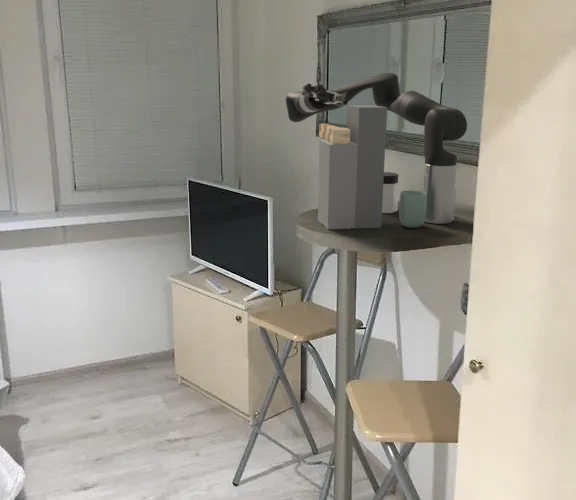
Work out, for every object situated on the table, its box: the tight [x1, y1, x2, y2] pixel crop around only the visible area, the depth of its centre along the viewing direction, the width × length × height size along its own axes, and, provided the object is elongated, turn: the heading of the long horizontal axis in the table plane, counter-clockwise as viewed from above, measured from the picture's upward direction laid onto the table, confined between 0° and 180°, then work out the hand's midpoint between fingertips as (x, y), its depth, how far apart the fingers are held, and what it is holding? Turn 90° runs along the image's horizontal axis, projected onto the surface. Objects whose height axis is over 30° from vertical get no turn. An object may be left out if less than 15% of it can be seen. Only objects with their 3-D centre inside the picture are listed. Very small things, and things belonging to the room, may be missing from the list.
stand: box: [317, 104, 388, 230], centre depth 188 cm, size 12×16×34 cm
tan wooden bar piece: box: [318, 122, 350, 144], centre depth 190 cm, size 21×5×4 cm, turn 11°
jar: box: [382, 171, 400, 214], centre depth 210 cm, size 9×8×12 cm
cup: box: [398, 190, 427, 229], centre depth 189 cm, size 8×8×10 cm
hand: (333, 91), depth 198 cm, fingers open, 8 cm apart
